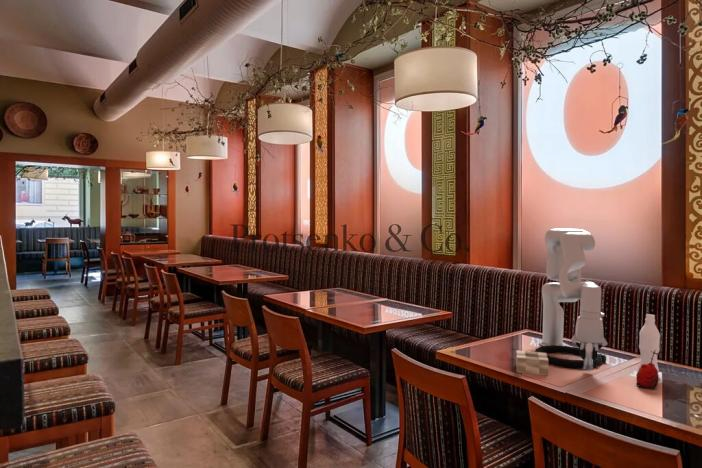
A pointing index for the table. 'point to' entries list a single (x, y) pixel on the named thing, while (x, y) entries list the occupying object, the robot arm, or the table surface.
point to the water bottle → (649, 341)
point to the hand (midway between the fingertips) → (588, 358)
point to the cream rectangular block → (531, 362)
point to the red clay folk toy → (648, 375)
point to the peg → (588, 356)
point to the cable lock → (567, 362)
